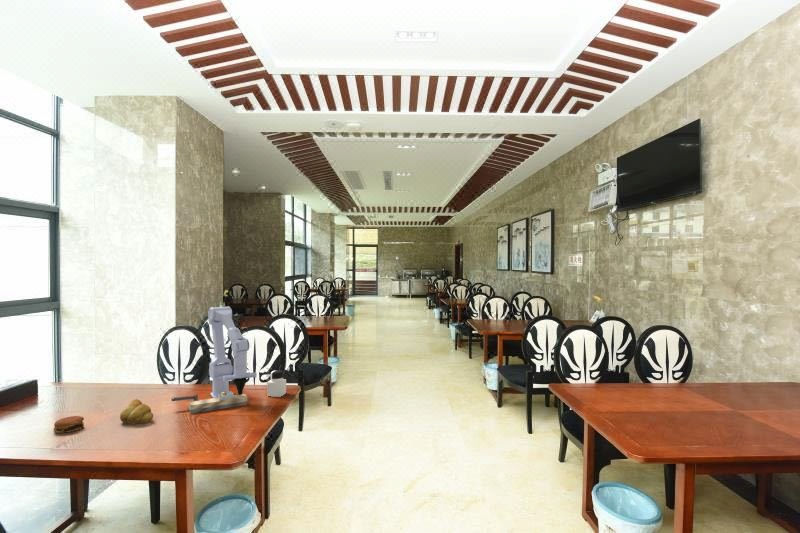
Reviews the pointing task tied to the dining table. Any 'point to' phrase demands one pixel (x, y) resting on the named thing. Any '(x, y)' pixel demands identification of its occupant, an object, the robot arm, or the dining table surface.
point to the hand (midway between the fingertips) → (240, 394)
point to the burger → (68, 424)
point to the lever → (185, 398)
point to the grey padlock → (276, 384)
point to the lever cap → (225, 395)
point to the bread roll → (136, 413)
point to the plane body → (216, 403)
